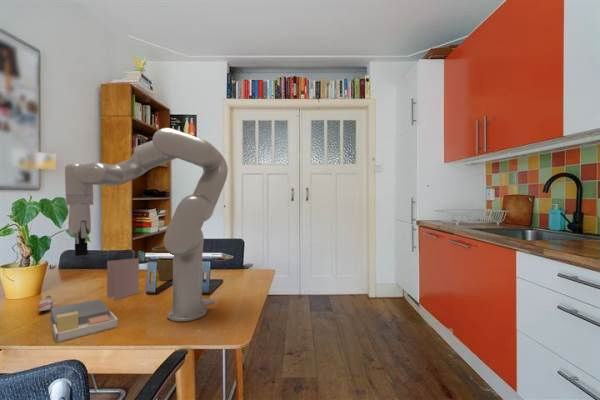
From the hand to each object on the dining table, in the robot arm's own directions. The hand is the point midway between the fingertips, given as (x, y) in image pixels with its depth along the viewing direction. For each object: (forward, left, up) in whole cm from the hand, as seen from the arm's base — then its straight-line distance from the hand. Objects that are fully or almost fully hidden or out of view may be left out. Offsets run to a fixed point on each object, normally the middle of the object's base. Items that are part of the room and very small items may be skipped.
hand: (81, 255), depth 100 cm
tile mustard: (+5, +9, -18) cm, 21 cm away
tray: (0, +12, -21) cm, 25 cm away
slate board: (0, 0, -21) cm, 21 cm away
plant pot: (-40, -32, -22) cm, 56 cm away
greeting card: (-16, -15, -22) cm, 31 cm away
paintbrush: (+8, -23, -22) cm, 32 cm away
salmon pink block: (-3, +14, -18) cm, 23 cm away
